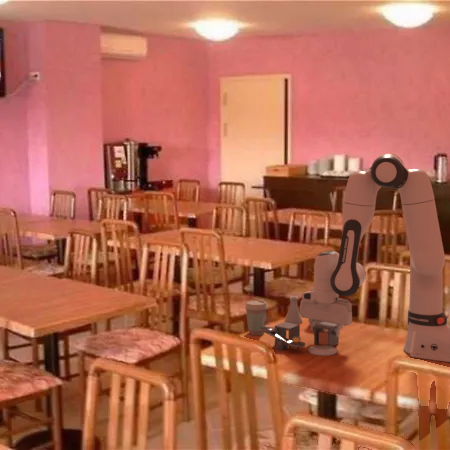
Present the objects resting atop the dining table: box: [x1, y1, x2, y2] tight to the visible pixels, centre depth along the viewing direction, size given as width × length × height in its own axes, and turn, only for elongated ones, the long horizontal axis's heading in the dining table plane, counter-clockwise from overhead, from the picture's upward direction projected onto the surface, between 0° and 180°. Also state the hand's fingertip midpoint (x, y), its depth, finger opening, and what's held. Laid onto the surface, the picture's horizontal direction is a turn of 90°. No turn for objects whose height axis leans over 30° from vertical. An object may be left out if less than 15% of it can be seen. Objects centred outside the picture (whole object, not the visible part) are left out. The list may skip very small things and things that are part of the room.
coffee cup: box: [244, 299, 269, 336], centre depth 292 cm, size 8×9×12 cm
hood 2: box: [313, 322, 340, 347], centre depth 278 cm, size 6×6×7 cm
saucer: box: [307, 344, 338, 357], centre depth 269 cm, size 10×10×1 cm
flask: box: [284, 296, 303, 325], centre depth 308 cm, size 7×7×10 cm
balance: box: [260, 326, 306, 352], centre depth 273 cm, size 18×6×6 cm, turn 51°
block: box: [318, 329, 328, 345], centre depth 279 cm, size 4×4×4 cm
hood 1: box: [274, 321, 301, 349], centre depth 278 cm, size 6×6×7 cm
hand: (325, 333), depth 278 cm, fingers open, 8 cm apart
